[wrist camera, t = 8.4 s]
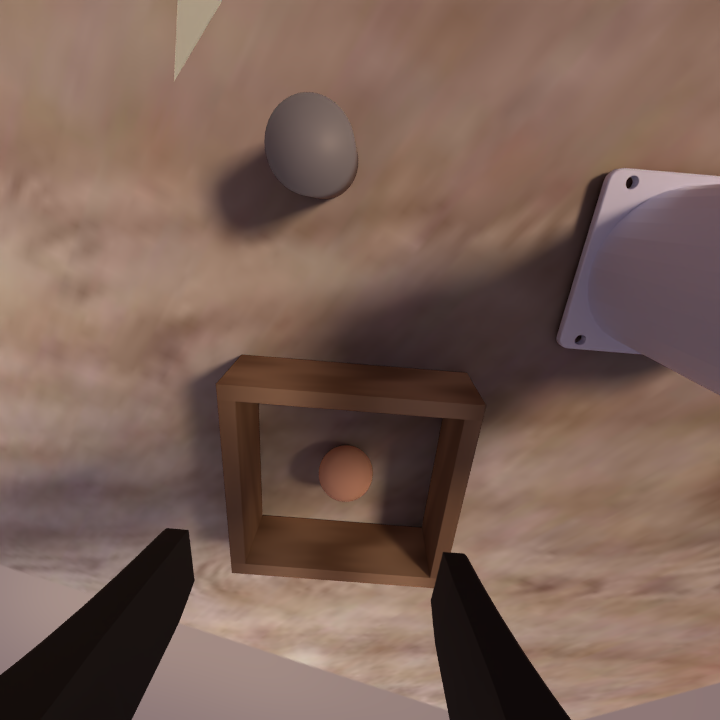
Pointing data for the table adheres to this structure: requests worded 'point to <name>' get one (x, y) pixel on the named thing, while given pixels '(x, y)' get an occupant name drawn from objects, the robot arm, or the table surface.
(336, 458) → the terracotta ball
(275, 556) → the walnut crate
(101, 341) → the table surface
